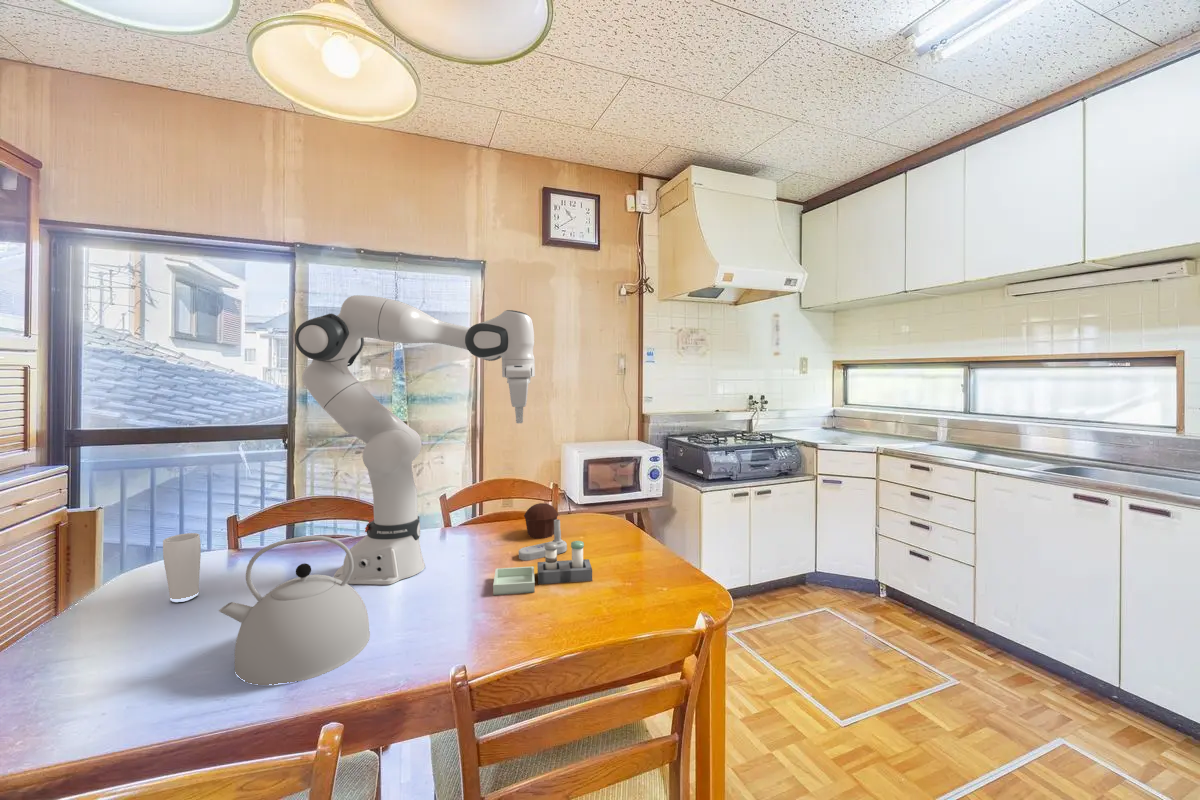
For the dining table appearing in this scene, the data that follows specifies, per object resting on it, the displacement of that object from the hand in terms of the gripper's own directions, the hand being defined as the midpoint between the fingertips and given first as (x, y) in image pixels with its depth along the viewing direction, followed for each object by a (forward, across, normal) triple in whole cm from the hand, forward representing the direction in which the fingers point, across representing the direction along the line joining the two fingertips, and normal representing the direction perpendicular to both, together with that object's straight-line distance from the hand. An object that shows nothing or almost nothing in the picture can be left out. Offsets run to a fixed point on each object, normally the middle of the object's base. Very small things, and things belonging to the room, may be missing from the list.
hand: (519, 421), depth 132 cm
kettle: (+41, +34, -43) cm, 68 cm away
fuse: (+41, +8, +14) cm, 44 cm away
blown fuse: (+41, +8, +8) cm, 42 cm away
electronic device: (+41, -9, +6) cm, 43 cm away
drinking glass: (+40, +7, -80) cm, 90 cm away
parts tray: (+41, +11, -2) cm, 42 cm away
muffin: (+41, -27, +6) cm, 49 cm away
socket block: (+41, +8, +11) cm, 43 cm away
